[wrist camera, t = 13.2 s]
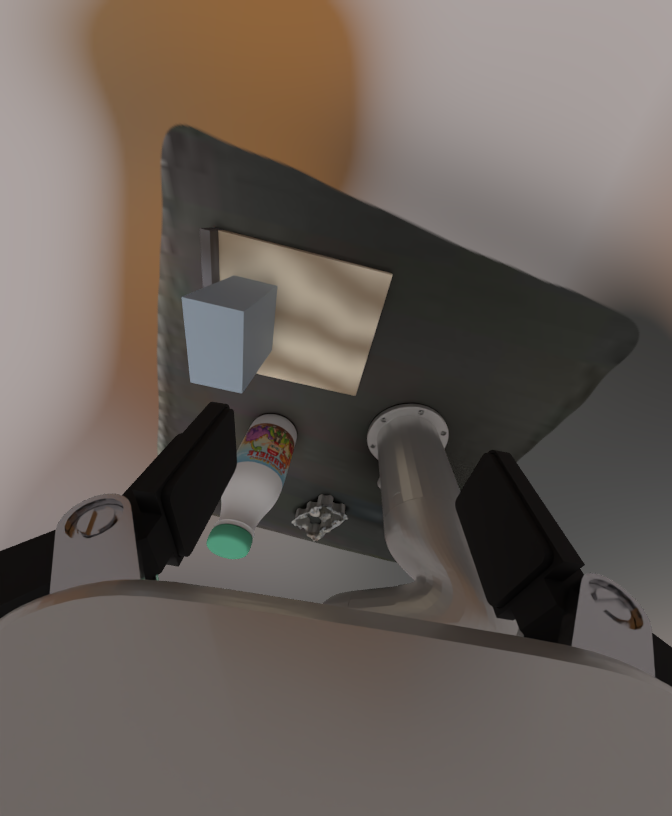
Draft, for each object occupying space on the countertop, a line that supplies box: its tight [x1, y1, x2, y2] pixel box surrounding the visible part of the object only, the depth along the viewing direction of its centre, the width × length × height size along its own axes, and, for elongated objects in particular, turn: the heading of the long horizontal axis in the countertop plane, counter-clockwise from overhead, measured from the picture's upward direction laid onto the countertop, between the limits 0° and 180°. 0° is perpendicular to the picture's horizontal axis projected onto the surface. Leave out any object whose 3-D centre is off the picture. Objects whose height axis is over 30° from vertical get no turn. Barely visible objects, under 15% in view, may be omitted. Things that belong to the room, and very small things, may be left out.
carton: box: [182, 276, 277, 393], centre depth 29 cm, size 8×5×11 cm, turn 168°
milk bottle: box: [207, 414, 297, 559], centre depth 37 cm, size 8×8×20 cm
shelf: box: [200, 228, 393, 396], centre depth 33 cm, size 16×20×4 cm
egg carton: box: [292, 494, 348, 542], centre depth 55 cm, size 11×8×4 cm
